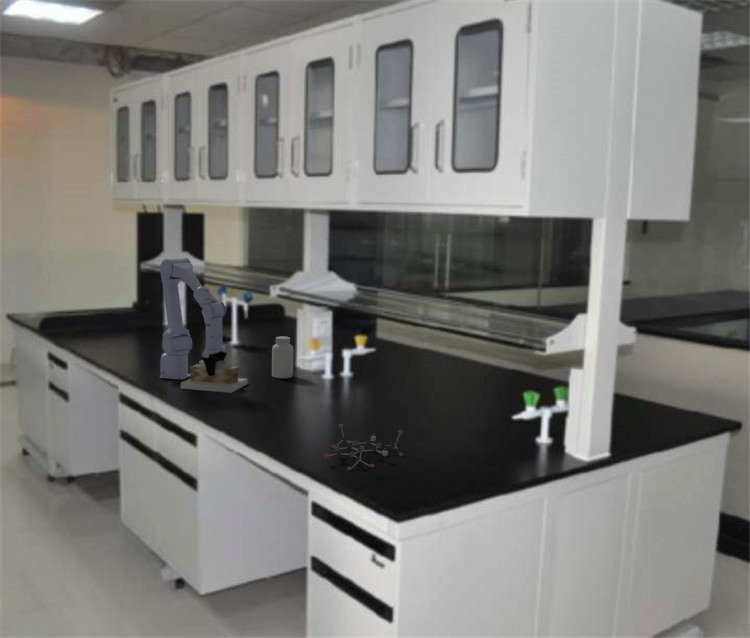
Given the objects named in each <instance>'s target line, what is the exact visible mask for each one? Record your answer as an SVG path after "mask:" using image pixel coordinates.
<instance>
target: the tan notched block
mask: <svg viewBox="0 0 750 638" xmlns="http://www.w3.org/2000/svg"><path fill="white" fill-rule="evenodd" d="M189 368H190V374H191V376H190V379H191V381H202V382H214V383H227V384H233V383H235V382H236V381H238V378H239V366H230V367H228V368H226V369H220V368H215V374H214V376H208V373H207V370H206V367H199V364H198V363H196V364H194V365H192V366H190V367H189Z"/></svg>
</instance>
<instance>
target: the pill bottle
mask: <svg viewBox="0 0 750 638" xmlns="http://www.w3.org/2000/svg"><path fill="white" fill-rule="evenodd" d="M290 343H291V337H289V336H284V335H283V336H276V337H275V344H274V345H272V347H271V348H272V349H271V376H272V377H273V378H276V379H289V378H293V376H294V346H293V345H292V344H290Z"/></svg>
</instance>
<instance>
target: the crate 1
mask: <svg viewBox="0 0 750 638" xmlns="http://www.w3.org/2000/svg"><path fill="white" fill-rule="evenodd" d="M198 362H199V367H206V366H205V364H204V362H203V360H202V359H201V360H199V361H198Z"/></svg>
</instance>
